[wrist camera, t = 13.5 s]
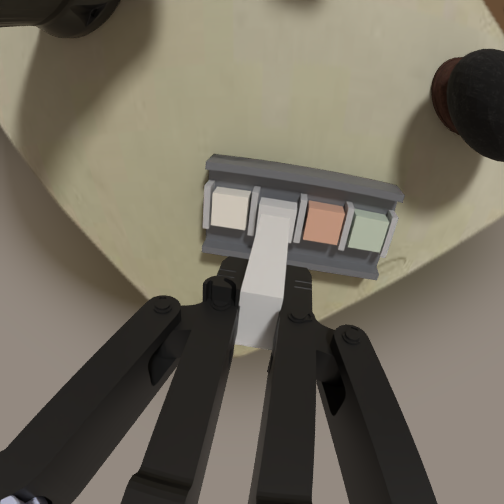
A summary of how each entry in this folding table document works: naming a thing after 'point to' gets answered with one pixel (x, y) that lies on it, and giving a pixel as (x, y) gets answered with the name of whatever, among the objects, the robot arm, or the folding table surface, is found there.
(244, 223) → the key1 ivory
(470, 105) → the black ball on stand
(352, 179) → the keypad board
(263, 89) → the folding table surface
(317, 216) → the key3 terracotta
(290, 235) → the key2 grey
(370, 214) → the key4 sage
